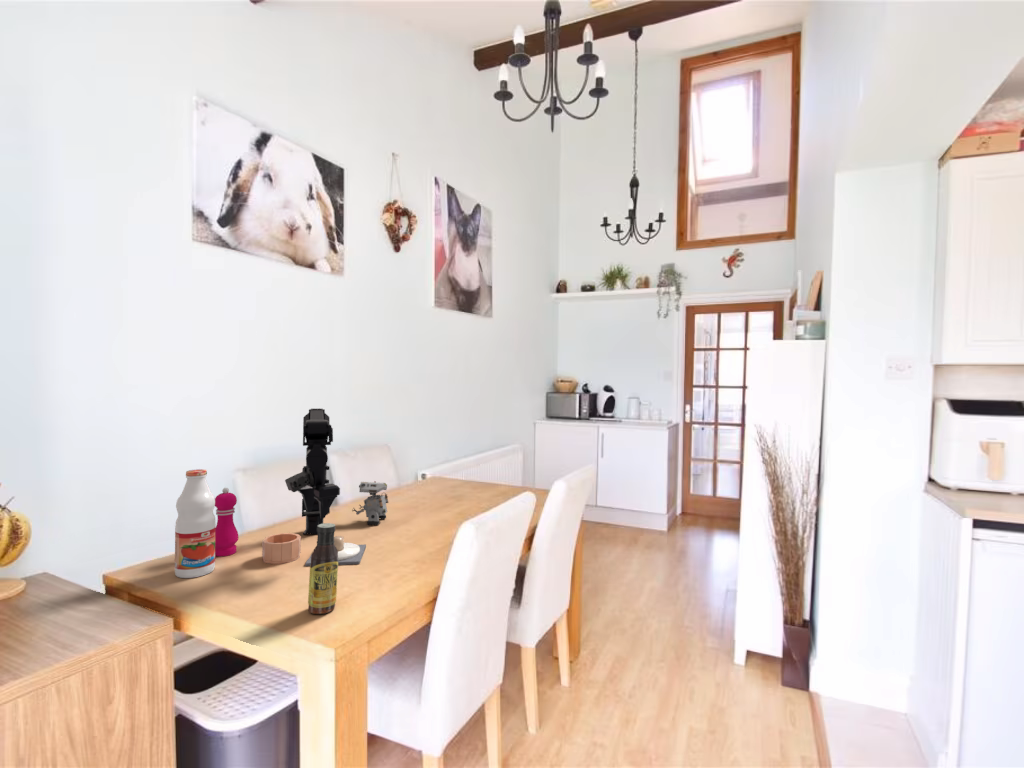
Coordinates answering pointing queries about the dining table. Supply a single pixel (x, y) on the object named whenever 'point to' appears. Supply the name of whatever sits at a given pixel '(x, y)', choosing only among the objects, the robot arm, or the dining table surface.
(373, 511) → the figurine
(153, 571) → the dining table surface
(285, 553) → the bowl
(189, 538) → the fruit juice
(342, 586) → the dining table surface
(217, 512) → the pepper mill
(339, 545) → the lid
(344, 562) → the mat
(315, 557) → the sauce bottle
